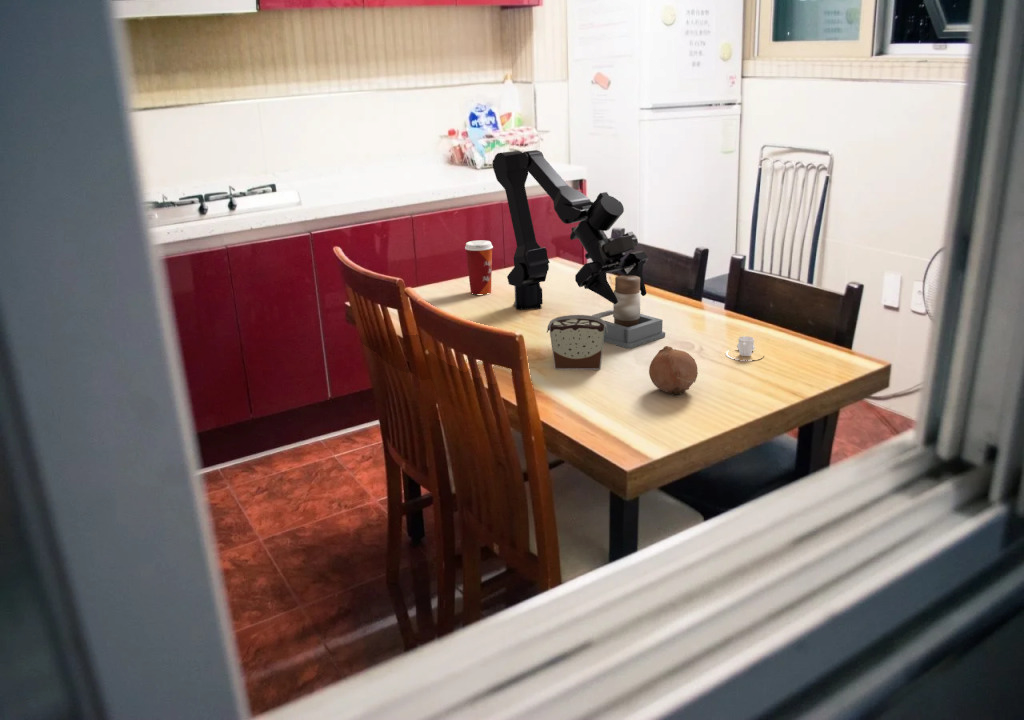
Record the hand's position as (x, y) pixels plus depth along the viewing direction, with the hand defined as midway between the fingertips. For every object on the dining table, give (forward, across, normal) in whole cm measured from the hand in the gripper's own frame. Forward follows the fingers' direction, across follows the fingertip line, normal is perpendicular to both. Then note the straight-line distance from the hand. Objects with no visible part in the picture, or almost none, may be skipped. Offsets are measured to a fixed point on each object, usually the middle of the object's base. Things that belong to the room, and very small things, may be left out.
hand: (630, 299), depth 186 cm
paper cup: (-33, 0, +46) cm, 56 cm away
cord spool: (+5, 0, +7) cm, 8 cm away
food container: (+10, -20, +4) cm, 23 cm away
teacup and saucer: (+26, +11, -12) cm, 30 cm away
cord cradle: (+5, 0, +7) cm, 9 cm away
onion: (+26, -18, -13) cm, 34 cm away
